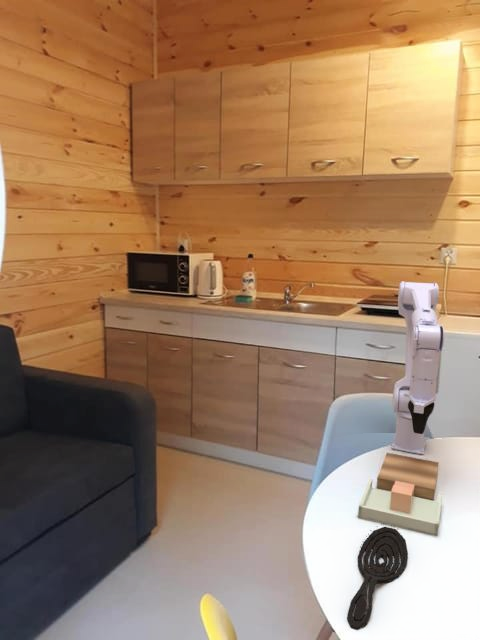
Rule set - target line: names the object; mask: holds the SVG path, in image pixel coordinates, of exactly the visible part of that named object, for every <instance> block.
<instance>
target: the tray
mask: <svg viewBox="0 0 480 640" xmlns="http://www.w3.org/2000/svg"><path fill="white" fill-rule="evenodd" d="M442 500H443V493H438V500H434V501H433V500H428V499H423V498H419V497H413V502H412V506H411V511H410V514H409V513H404V512H400V511H396V510H391V509H390V501H391V491H386V490H381V489H377V487H373V478H369V479H368V482H367V485H366V487H365V490H364V492H363V494H362V497H361V500H360V503H359V505H358V510H357V511H358V512H357V518H359V519H362V520H363V519H364V520H367V521H371V522H375V523H380V524H384V525H385V524H386V525H388V526H391V525H392V527H396V528H400V529H405V530H409V531H414V532H417V533H422V534H427V535H430V536H434V537H438V536H439V535H438V533H439V524H440V516H441V508H442V502H443V501H442Z"/></svg>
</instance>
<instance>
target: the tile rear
mask: <svg viewBox="0 0 480 640" xmlns="http://www.w3.org/2000/svg"><path fill="white" fill-rule="evenodd" d="M394 485H396V486H401V487H406V488H411V489H413V495H412V502H413V497H414V486H415V485H414V484H409V483H405V482H400V481H395V484H394Z"/></svg>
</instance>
